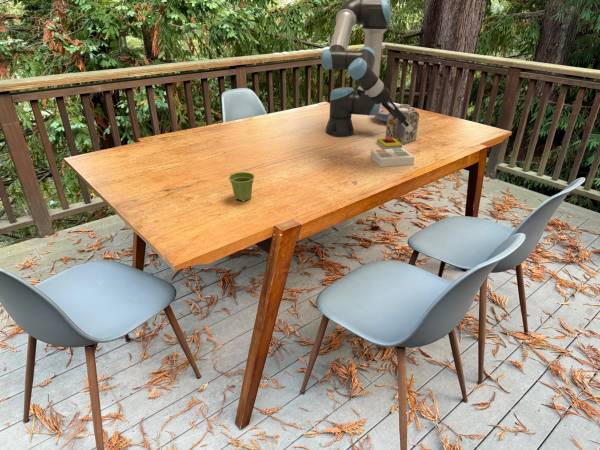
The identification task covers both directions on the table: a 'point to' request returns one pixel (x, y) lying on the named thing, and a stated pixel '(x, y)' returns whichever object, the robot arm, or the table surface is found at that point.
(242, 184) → the plant pot
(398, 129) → the capped grey bottle
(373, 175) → the table surface
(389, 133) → the decorative jar
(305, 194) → the table surface
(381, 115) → the ramen bowl
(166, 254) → the table surface
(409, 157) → the socket block
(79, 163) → the table surface
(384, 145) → the emergency button
